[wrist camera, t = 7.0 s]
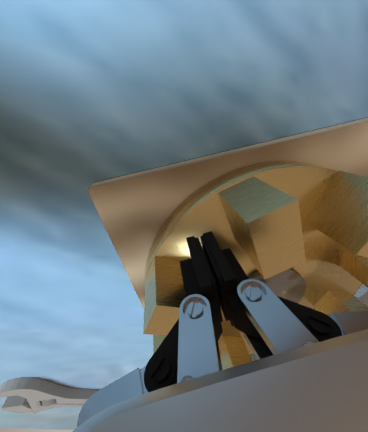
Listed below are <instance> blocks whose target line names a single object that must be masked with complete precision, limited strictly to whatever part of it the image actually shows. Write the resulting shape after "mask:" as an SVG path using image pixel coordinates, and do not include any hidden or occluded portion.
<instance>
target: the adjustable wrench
mask: <svg viewBox="0 0 368 432" xmlns="http://www.w3.org/2000/svg"><path fill="white" fill-rule="evenodd" d="M97 391H99V390H97V389H77V388H69V387H65V386H61V385H58V384H55V383H52V382H49V381H46V380H43V379H40V378H35V377H21V378H15V379H12V380H8V381H6V382H4V383H3V384H2V386H1V388H0V397H7V399H6V401H5V403H4V405H3V407H2V410H5V411H10V412H18V413H32V412H33V413H34V414H35V413H38V412H40V411H43V410H46V409H50V408H54V407H62V406H83V405H84V404H85V402H86V401H87V400H88V398H89V397H90V396H92V395H93V394H94V393H95V392H97Z"/></svg>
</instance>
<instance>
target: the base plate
mask: <svg viewBox="0 0 368 432" xmlns="http://www.w3.org/2000/svg"><path fill="white" fill-rule="evenodd" d="M269 161H297V162H303V163H308V164H312V165H316V166H320V167H324V168H328V169H332V170H336V171H339V170H340V171H344V172H348V173H352V174H356V175H360V176H364V177H368V118H364V119H359V120H355V121H351V122H347V123H343V124H339V125H334V126H330V127H326V128H322V129H318V130H313V131H309V132H305V133H301V134H297V135H292V136H288V137H284V138H280V139H276V140H271V141H267V142H263V143H259V144H255V145H251V146H246V147H242V148H238V149H234V150H230V151H225V152H221V153H217V154H213V155H209V156H204V157H200V158H196V159H192V160H188V161H183V162H179V163H175V164H171V165H167V166H163V167H158V168H154V169H150V170H146V171H142V172H137V173H133V174H129V175H125V176H121V177H116V178H112V179H108V180H104V181H100V182H96V183H93V184H92V185H91V186H90V187H89V188H88V189H87V191H88V193H89V195H90V197H91V199H92V201H93V203H94V205H95V207H96V209H97V212H98V214H99V216H100V218H101V220H102V222H103V224H104V226H105V228H106V230H107V232H108V235H109V237H110V239H111V241H112V243H113V245H114V247H115V249H116V251H117V253H118V255H119V258H120V260H121V262H122V264H123V266H124V268H125V270H126V272H127V274H128V276H129V278H130V281H131V283H132V285H133V287H134V289H135V291H136V293H137V295H138V297H139V299H140V301H141V304H142V306H143V308H144V305H145V302H144V285H145V269H146V261H147V257H148V254H149V250H150V247H151V245H152V243H153V241H154V239H155V236H156V235H157V233H158V231H159V230H160V228H161V227H162V225H163V224H164V222H165V221H166V219H167V218H168V217H169V216H170V215H171V214H172V212H173V211H174V210H175V209H176V208H177V207H178V206H179V205H180V204H181V203H182V202H183V201H184V200H185V199H186V198H188V197H189V196H190V195H191V194H193V193H194V192H195V191H197V190H198V189H199V188H201V187H202V186H204V185H205V184H207V183H209V182H210V181H212V180H214V179H216V178H218V177H219V176H221V175H223V174H226V173H228V172H231V171H233V170H236V169H238V168H241V167H245V166H248V165H252V164H256V163H261V162H269Z"/></svg>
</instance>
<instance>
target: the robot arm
mask: <svg viewBox="0 0 368 432" xmlns="http://www.w3.org/2000/svg"><path fill="white" fill-rule="evenodd" d="M200 238H201V243H202V246H201V243H200V241H199V238H198V237H196V238H195V237H194V236H191V237H187V238H186V240H187V244H188V248H189V252H190V256H191V258H190V259H186V260H182V261H180V268H181V273H182V279H183V284H184V289H185V295H186V298H185V299H184V300H183V301H182V302H181V304H180V308H179V319H178V320H177V322H176V323H175V325H174V326H173V327H172V329H171V330H170V332H169V333H168V335H167V336H166V337H165V339H164V340H163V342H162V343H161V344H160V346H159V347H158V349H157V350H156V352H155V353H154V354H153V356H152V357H151V359H150V360H149V362H148V364H147V366H145V367H144V368H142V369H139V368H137V369H135V370H134V371H132V372H130V373H128V374H127V375H125V376H123V377H121V378H120V379H118V380H116V381H114V382H113V383H111V384H109V385H108V386H106V387H104V388H102V389H101V390H99V391H97V392H95V393H94V394H93V395H92V396H90V397H89V398H88V400H87V401H86V402H85V404H84V405H83V407H82V409H81V411H80V414H79V418H78V422H77V428H76V429H75V430H74V431H73V432H368V311H357V312H332V314H331V315H326V314H324V313H322V312H320V311H317V310H315V309H312V308H309V307H306V306H304V305H301V304H298V303H295V302H293V301H290V300H287V299H284V298H282V297H279V296H276V295H275V294H274V293H273V292H272V291H271V290H270V288H269V287H268V286H267V285H266V284H264V283H263V282H261V281H259V280H256V279H249V278H248V277H247V275H246V273H245V272H244V270H243V269H242V267H241V265H240V264H239V262H238V260H237V259H236V257H235V256H234V254H233V252H232V251H231V249H230V248H227V249H223V250H221V248H220V246H219V244H218V242H217V240H216V239H215V237H214V235H213V233H212V231H210V232H206V233H203V236H200ZM202 247H203V248H202ZM220 306H221V307H220ZM221 309H222V312H223V315H224V317H225V320H226V321H228V320H230V323H231V326H234V327H235V328H236V329H238V330H239V331H241V332H242V334H243V336H244V338H245V340H246V341H247V343H248V345H249V346H250V348H251V350H252V351H253V353H254V355H255V357H256V358H257V360H255V361H252V362H248V363H245V364H242V365H238V366H235V367H231V368H228V369H224V370H223V369H222V362H221V356H220V349H219V343H218V340H219V338H220V336H221V334H222V332H223V330H222V325H221V322H223V318H222V312H221Z"/></svg>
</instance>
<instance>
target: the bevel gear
mask: <svg viewBox="0 0 368 432" xmlns="http://www.w3.org/2000/svg"><path fill="white" fill-rule="evenodd" d="M210 231H212V233H213V235H214V237H215V239H216V240H217V242H218V244H219V246H220V248H221V250H223V249H227V248H230V249H231V251H232V252H233V254H234V256H235V257H236V259H237V260H238V262H239V264H240V265H241V267H242V269H243V270H244V272H245V273H246V275H247V277H248V278H249V279H256V280H259V281H261V282H263V283H264V284H266V285H267V286H268V287H269V288H270V290H271V291H272V292H273V293H274V294H275V295H276V296H279V297H282V298H284V299H287V300H290V301H293V302H295V303H298V304H301V305H304V306H306V307H309V308H312V309H315V310H317V311H320V312H322V313H324V314H326V315H331V314H332V312H357V311H368V307H367V306H366V305H365V304H364V303H363V302H361V301H360V300H359V299H358V298H357V297H355V296H354V294H355V293H356V291H357V290H358V289H359V288H360V286H361V285H362V284H364V285H365V286H367V287H368V177H364V176H360V175H356V174H352V173H348V172H344V171H340V170H339V171H336V170H332V169H328V168H324V167H320V166H316V165H312V164H308V163H303V162H297V161H269V162H261V163H256V164H252V165H248V166H245V167H241V168H238V169H236V170H233V171H231V172H228V173H226V174H223V175H221V176H219V177H218V178H216V179H214V180H212V181H210V182H209V183H207V184H205V185H204V186H202V187H201V188H199V189H198V190H197V191H195V192H194V193H193V194H191V195H190V196H189V197H188V198H186V199H185V200H184V201H183V202H182V203H181V204H180V205H179V206H178V207H177V208H176V209H175V210H174V211H173V212H172V214H171V215H170V216H169V217H168V218H167V219H166V221H165V222H164V224H163V225H162V227H161V228H160V230H159V231H158V233H157V235H156V236H155V239H154V241H153V243H152V245H151V247H150V250H149V254H148V257H147V261H146V269H145V285H144V302H145V305H144V334H153V345H154V353H155V352H156V350H157V349H158V347H159V346H160V344H161V343H162V342H163V340H164V339H165V337H166V336H167V335H168V333H169V332H170V330H171V329H172V327H173V326H174V325H175V323H176V322H177V320H178V319H179V308H180V304H181V302H182V301H183V300H184V299H185V298H186V295H185V289H184V284H183V279H182V273H181V268H180V261H182V260H186V259H190V258H191V256H190V252H189V248H188V244H187V240H186V238H187V237H191V236H194V237H195V238H196V237H198V238H199V241H200V243H201V238H200V236H203V233H206V232H210ZM201 246H202V243H201ZM202 248H203V247H202ZM220 307H221V306H220ZM221 312H222V309H221ZM222 318H223V322H221V325H222V330H223V332H222V334H221V336H220V338H219V340H218V343H219V349H220V356H221V362H222V369H223V370H224V369H228V368H231V367H235V366H238V365H242V364H245V363H248V362H252V360H251V357H250V355H251V354H254V353H253V351H252V350H251V348H250V346H249V345H248V343H247V341H246V340H245V338H244V336H243V334H242V332H241V331H239V330H238V329H236V328H235V327H234V326H231V323H230V320H228V321H226V320H225V317H224V315H223V312H222Z"/></svg>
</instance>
